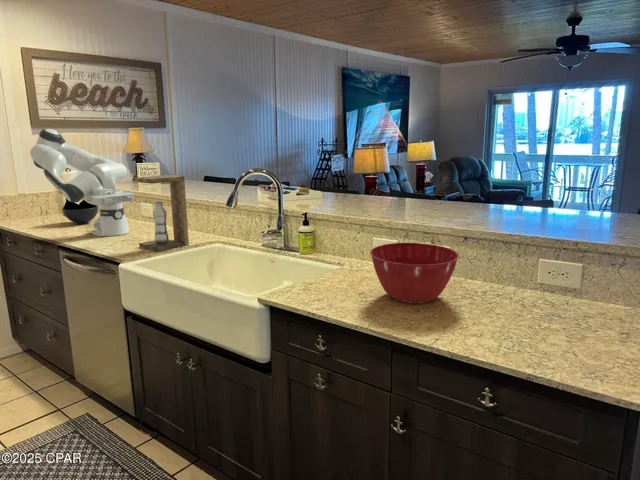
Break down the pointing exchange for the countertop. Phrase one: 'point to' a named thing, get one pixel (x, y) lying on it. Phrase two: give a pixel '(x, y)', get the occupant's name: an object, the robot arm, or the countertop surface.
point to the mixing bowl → (413, 270)
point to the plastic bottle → (160, 223)
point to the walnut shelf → (177, 212)
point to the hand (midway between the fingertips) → (121, 200)
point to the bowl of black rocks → (80, 211)
